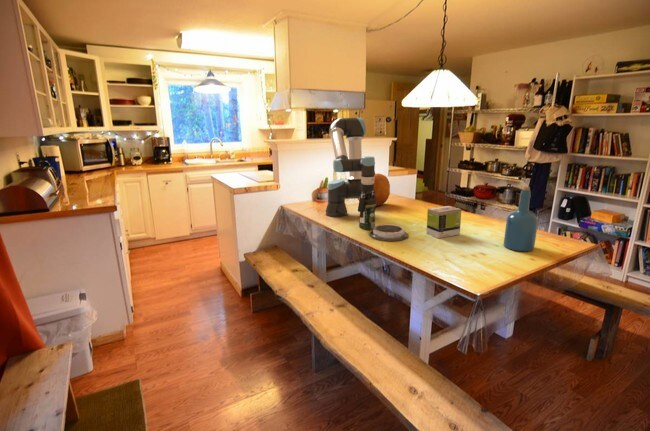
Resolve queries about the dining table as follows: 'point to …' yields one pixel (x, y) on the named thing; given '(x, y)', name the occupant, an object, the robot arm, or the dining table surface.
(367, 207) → the coffee jar
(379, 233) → the ring collar
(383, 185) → the pumpkin
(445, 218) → the tea box
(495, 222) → the dining table surface
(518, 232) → the wine bottle
